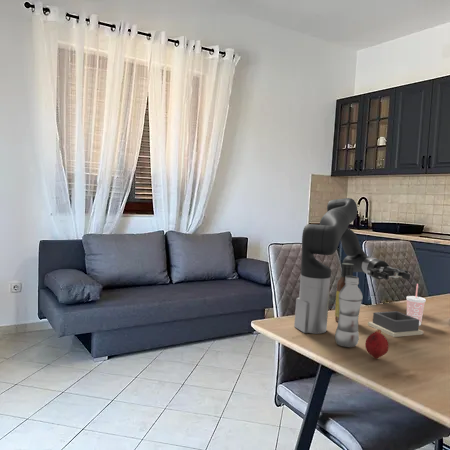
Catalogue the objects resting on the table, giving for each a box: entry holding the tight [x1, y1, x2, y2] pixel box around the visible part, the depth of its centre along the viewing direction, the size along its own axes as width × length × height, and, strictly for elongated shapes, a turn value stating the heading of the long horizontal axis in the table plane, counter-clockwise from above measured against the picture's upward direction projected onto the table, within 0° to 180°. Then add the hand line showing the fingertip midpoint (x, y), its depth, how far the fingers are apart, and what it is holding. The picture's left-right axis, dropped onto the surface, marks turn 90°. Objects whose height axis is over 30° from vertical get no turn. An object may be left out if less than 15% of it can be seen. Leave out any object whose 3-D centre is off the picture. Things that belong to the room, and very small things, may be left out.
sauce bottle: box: [334, 262, 354, 323], centre depth 148 cm, size 7×6×20 cm
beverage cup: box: [405, 283, 427, 326], centre depth 150 cm, size 6×6×14 cm
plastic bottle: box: [334, 275, 363, 348], centre depth 124 cm, size 6×7×20 cm
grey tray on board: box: [367, 310, 424, 338], centre depth 143 cm, size 12×12×4 cm
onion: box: [364, 329, 390, 360], centre depth 116 cm, size 6×6×8 cm
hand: (398, 277), depth 161 cm, fingers open, 8 cm apart
